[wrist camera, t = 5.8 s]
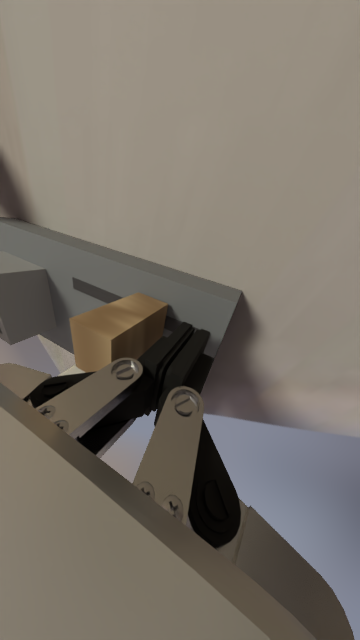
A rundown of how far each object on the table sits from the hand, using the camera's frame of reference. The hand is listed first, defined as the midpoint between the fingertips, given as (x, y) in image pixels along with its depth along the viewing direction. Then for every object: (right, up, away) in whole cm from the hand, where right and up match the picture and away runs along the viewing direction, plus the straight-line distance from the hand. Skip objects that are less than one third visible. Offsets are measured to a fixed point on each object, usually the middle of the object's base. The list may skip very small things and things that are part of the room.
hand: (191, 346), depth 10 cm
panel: (-9, +3, +8) cm, 13 cm away
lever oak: (-3, +2, +2) cm, 4 cm away
